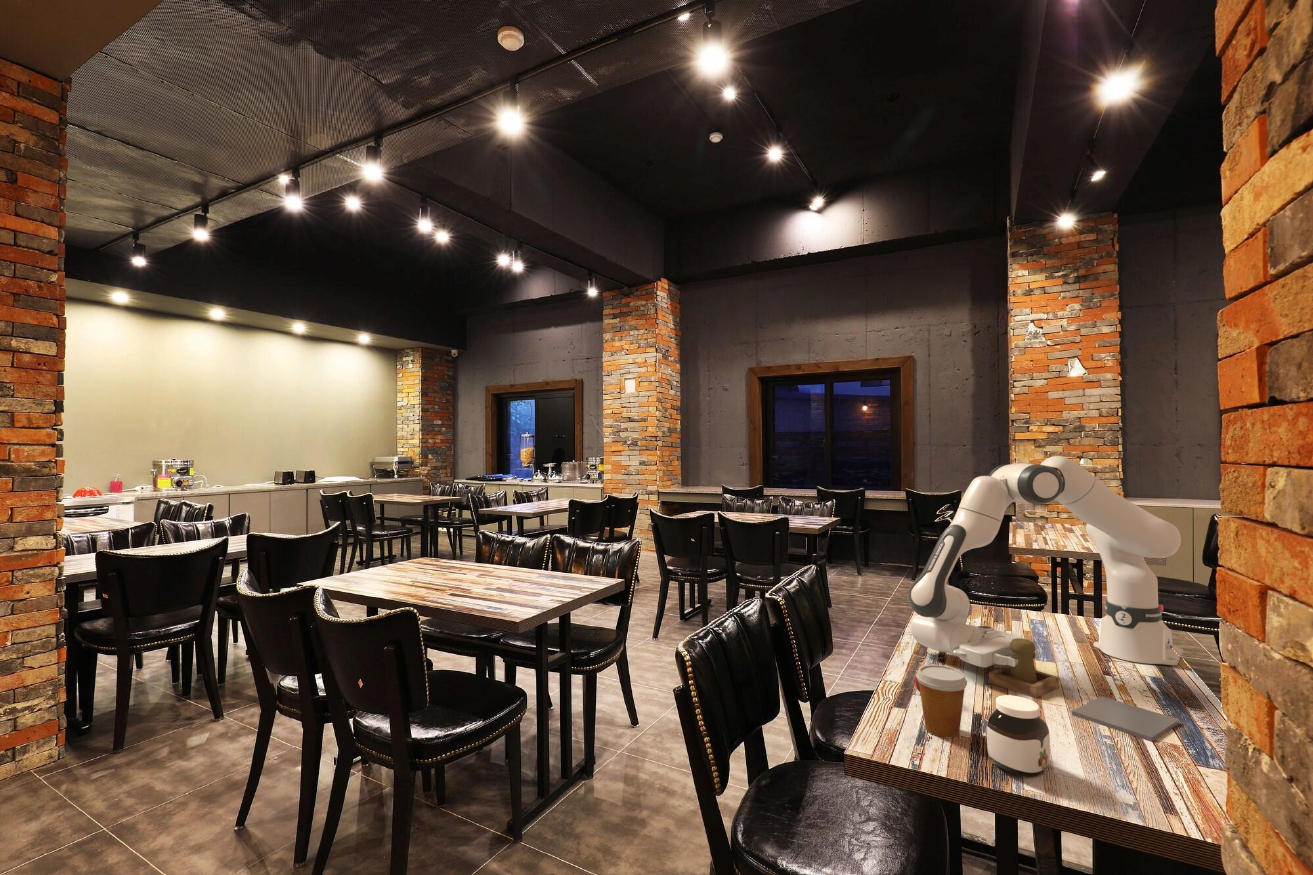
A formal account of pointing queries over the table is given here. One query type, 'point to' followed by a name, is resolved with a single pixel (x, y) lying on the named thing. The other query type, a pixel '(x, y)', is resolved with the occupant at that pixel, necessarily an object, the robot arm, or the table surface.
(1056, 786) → the table surface
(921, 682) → the disposable coffee cup
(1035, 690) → the square wooden frame
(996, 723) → the spread jar
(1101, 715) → the coaster
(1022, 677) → the cork
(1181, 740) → the table surface
